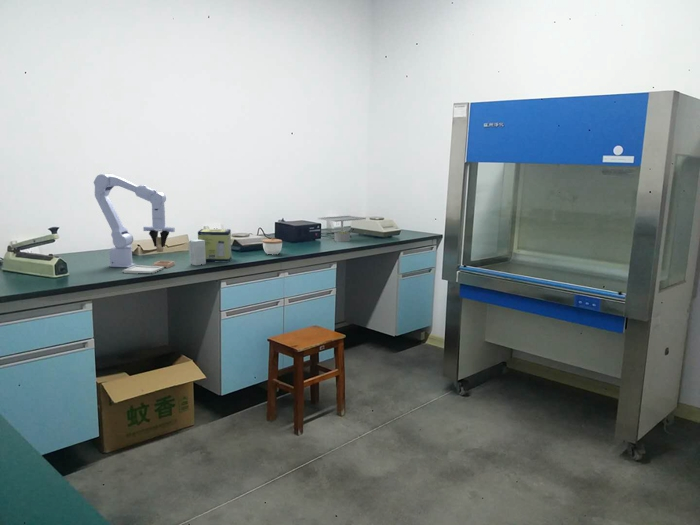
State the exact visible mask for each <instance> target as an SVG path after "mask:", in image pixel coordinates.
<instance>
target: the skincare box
mask: <svg viewBox="0 0 700 525" xmlns="http://www.w3.org/2000/svg"><path fill="white" fill-rule="evenodd" d="M189 243H190V244H189V246H190V265H191V264H192V266H201V264H202V265H206V263H207V262H206V255H205V240H198V239H193V240H190V242H189Z"/></svg>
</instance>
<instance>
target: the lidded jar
mask: <svg viewBox="0 0 700 525" xmlns="http://www.w3.org/2000/svg"><path fill="white" fill-rule="evenodd" d="M282 247H283V240H282V239H279V238H274V237H273V236H272V237H271V238H265V239H262V248H263V250H264V252H265V253H266V254H267V255H268V254H272V255H271V256H274V255H273V254H277V255H278V254H279V253H281V251H282Z"/></svg>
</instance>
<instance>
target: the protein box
mask: <svg viewBox="0 0 700 525" xmlns="http://www.w3.org/2000/svg"><path fill="white" fill-rule="evenodd" d="M231 234H232V232H231V229H230V228H227V229H226V228H225V229H224V228H223V229H222V228H220V229H218V228H217V229H214V228H213V229H212V228H210V229H209V228H200V230H198V231H197V240H205V255H206V263H210V261H211V263H216V262H215V261H229V260H230V261H231V259H232V236H231ZM230 261H229V262H230Z"/></svg>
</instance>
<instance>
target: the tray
mask: <svg viewBox="0 0 700 525" xmlns="http://www.w3.org/2000/svg"><path fill="white" fill-rule="evenodd" d="M162 269H163V270H164V267H162V266H153V265H141V264H139V265H138V264H136V265H133V266H131V267H126V268H125V269H122V270H121V271H122V273H123V272H124V273H123V274H138V273H154V272H156V273H158V272H160V271H159V270H161V271H163V270H162ZM157 271H158V272H157ZM154 274H155V273H154Z"/></svg>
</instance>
